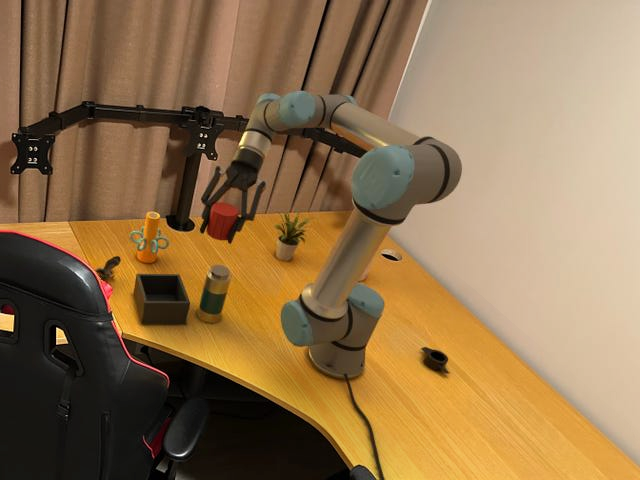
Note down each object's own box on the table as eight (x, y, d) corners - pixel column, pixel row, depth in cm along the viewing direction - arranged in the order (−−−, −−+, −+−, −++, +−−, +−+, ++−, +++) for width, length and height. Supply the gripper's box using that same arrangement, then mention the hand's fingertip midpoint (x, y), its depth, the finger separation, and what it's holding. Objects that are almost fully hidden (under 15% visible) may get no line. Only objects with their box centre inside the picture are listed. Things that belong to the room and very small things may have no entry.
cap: (235, 240, 161) (242, 216, 156) (210, 240, 159) (215, 215, 155) (228, 226, 166) (234, 202, 161) (203, 225, 164) (209, 201, 160)
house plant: (254, 259, 207) (267, 215, 196) (262, 240, 217) (275, 197, 206) (297, 272, 205) (312, 228, 194) (303, 252, 215) (318, 209, 204)
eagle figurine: (121, 285, 182) (126, 264, 188) (109, 268, 178) (114, 246, 183) (98, 291, 185) (104, 270, 191) (86, 274, 181) (92, 253, 186)
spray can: (222, 323, 178) (235, 277, 168) (200, 323, 177) (211, 277, 167) (216, 308, 183) (228, 263, 173) (194, 308, 181) (205, 263, 171)
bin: (185, 324, 175) (190, 303, 170) (141, 324, 172) (144, 302, 167) (175, 294, 185) (179, 274, 180) (133, 294, 182) (136, 273, 177)
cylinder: (123, 249, 199) (129, 206, 190) (153, 246, 203) (160, 203, 194) (138, 270, 191) (144, 227, 182) (169, 267, 196) (177, 224, 186)
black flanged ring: (421, 371, 175) (425, 363, 173) (418, 349, 183) (422, 341, 181) (448, 378, 175) (453, 371, 173) (445, 356, 182) (449, 349, 180)
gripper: (287, 172, 162) (252, 254, 161) (216, 149, 166) (181, 228, 165) (287, 160, 155) (251, 245, 154) (213, 135, 159) (177, 218, 158)
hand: (215, 236), depth 160 cm, fingers closed on cap, 7 cm apart
